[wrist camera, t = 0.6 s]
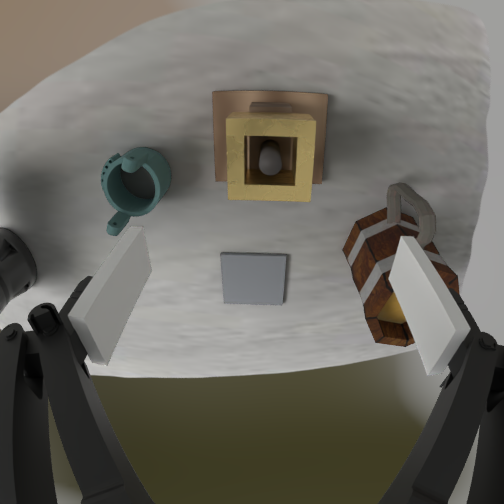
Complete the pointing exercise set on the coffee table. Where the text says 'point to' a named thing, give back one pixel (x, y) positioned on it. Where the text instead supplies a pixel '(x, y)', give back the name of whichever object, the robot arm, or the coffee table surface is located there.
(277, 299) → the felt mat
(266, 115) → the hollow wooden square frame
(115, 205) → the bracket
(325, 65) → the coffee table surface
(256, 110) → the post stand
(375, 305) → the mug
